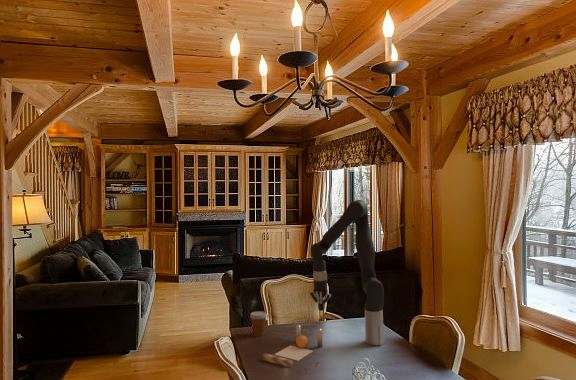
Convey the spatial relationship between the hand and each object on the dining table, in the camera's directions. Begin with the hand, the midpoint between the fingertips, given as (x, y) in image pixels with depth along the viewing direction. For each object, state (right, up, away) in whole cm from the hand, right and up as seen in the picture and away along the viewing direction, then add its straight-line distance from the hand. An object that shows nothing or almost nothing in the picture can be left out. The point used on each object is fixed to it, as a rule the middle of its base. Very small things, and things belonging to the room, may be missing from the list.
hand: (321, 310), depth 225 cm
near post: (-2, -14, -15) cm, 21 cm away
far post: (-13, -15, -7) cm, 21 cm away
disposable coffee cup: (-35, -16, +5) cm, 38 cm away
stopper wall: (-23, -14, -34) cm, 44 cm away
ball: (-11, -12, -15) cm, 22 cm away
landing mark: (-15, -14, -23) cm, 31 cm away
